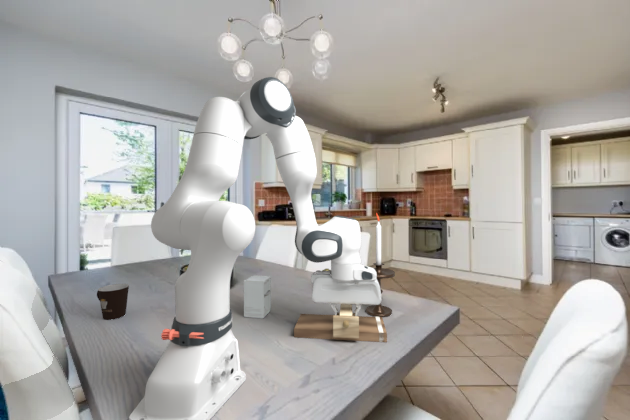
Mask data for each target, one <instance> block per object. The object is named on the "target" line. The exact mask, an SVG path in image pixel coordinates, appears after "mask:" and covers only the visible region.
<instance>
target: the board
mask: <svg viewBox="0 0 630 420" xmlns="http://www.w3.org/2000/svg"><path fill="white" fill-rule="evenodd" d="M333 315H334V314H319V313H317V314H315V313H300V314H299V317H298V319H297V320H296V323H295V325H294V328H293V335H294V337H293V338H297V339H298V338H300V339H301V338H303V339H320V340H339V341H356V342H373V343H374V342H377V343H387V342H388V333H387V332H388V331H387V329H386V325H385V323H384V317H374V316H367V315H366V316H365V315H363V316H361V315H360V316H359V315H358V316H359V338H340V337H333Z"/></svg>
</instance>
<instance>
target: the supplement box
mask: <svg viewBox="0 0 630 420" xmlns="http://www.w3.org/2000/svg"><path fill="white" fill-rule="evenodd" d="M271 278H272V277H271V275H251V276H249V277H248V278H246V279H244V280H243V317H244V318H254V319H264V318H265V317H266V316H267V314H269V313H270V312H271V310H272V300H271V299H272V293H271V292H272V289H271V288H272V284H271V283H272V279H271Z"/></svg>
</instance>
